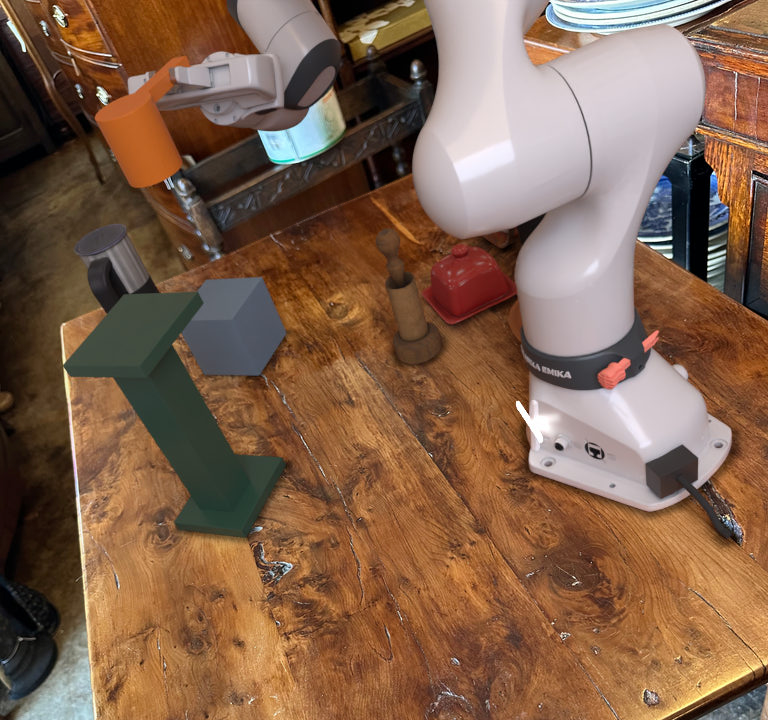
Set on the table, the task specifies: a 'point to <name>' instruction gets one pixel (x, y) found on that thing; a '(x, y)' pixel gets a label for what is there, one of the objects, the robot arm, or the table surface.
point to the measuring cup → (142, 131)
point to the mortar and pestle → (407, 306)
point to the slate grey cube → (234, 327)
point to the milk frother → (113, 265)
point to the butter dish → (466, 284)
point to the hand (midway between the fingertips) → (162, 76)
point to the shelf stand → (177, 410)
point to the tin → (503, 237)
